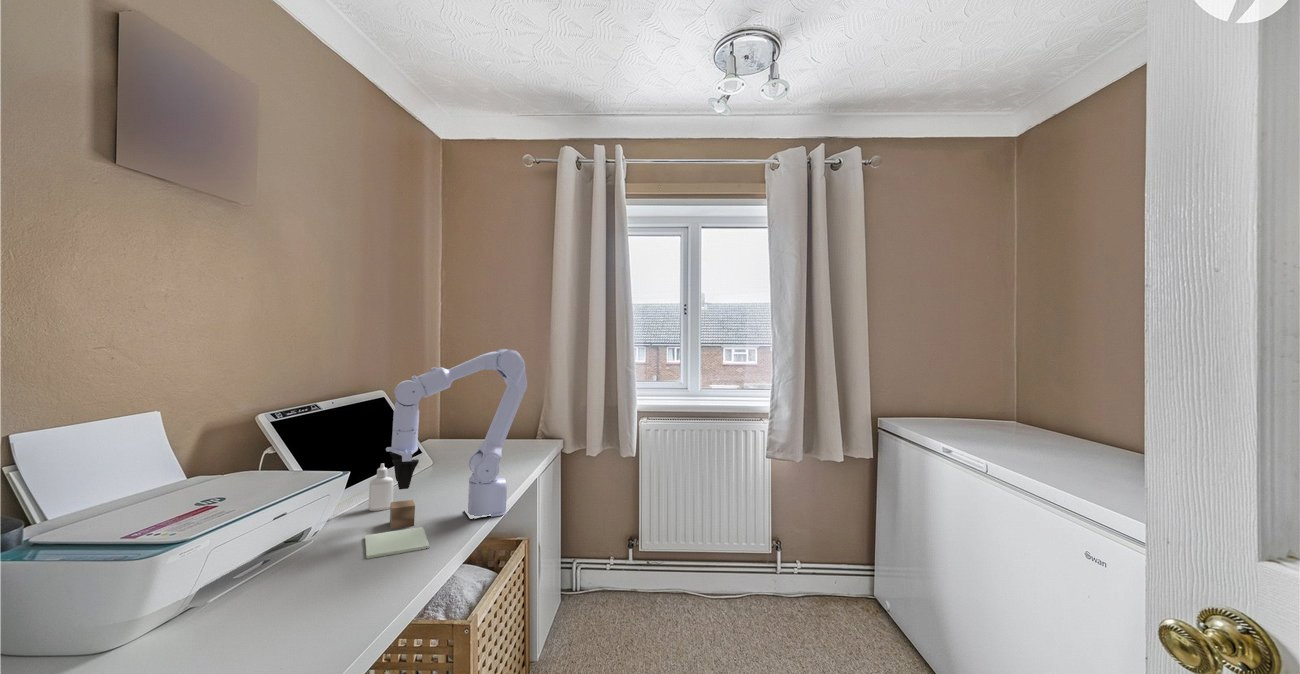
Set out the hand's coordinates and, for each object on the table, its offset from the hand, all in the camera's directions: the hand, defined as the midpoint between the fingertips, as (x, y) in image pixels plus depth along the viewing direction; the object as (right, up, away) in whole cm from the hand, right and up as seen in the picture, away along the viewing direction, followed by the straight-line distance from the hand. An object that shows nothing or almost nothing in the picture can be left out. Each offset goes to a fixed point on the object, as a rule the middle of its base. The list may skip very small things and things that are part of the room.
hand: (402, 484), depth 122 cm
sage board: (+4, -10, -11) cm, 16 cm away
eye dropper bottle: (-11, -10, +10) cm, 18 cm away
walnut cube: (0, -10, 0) cm, 10 cm away
